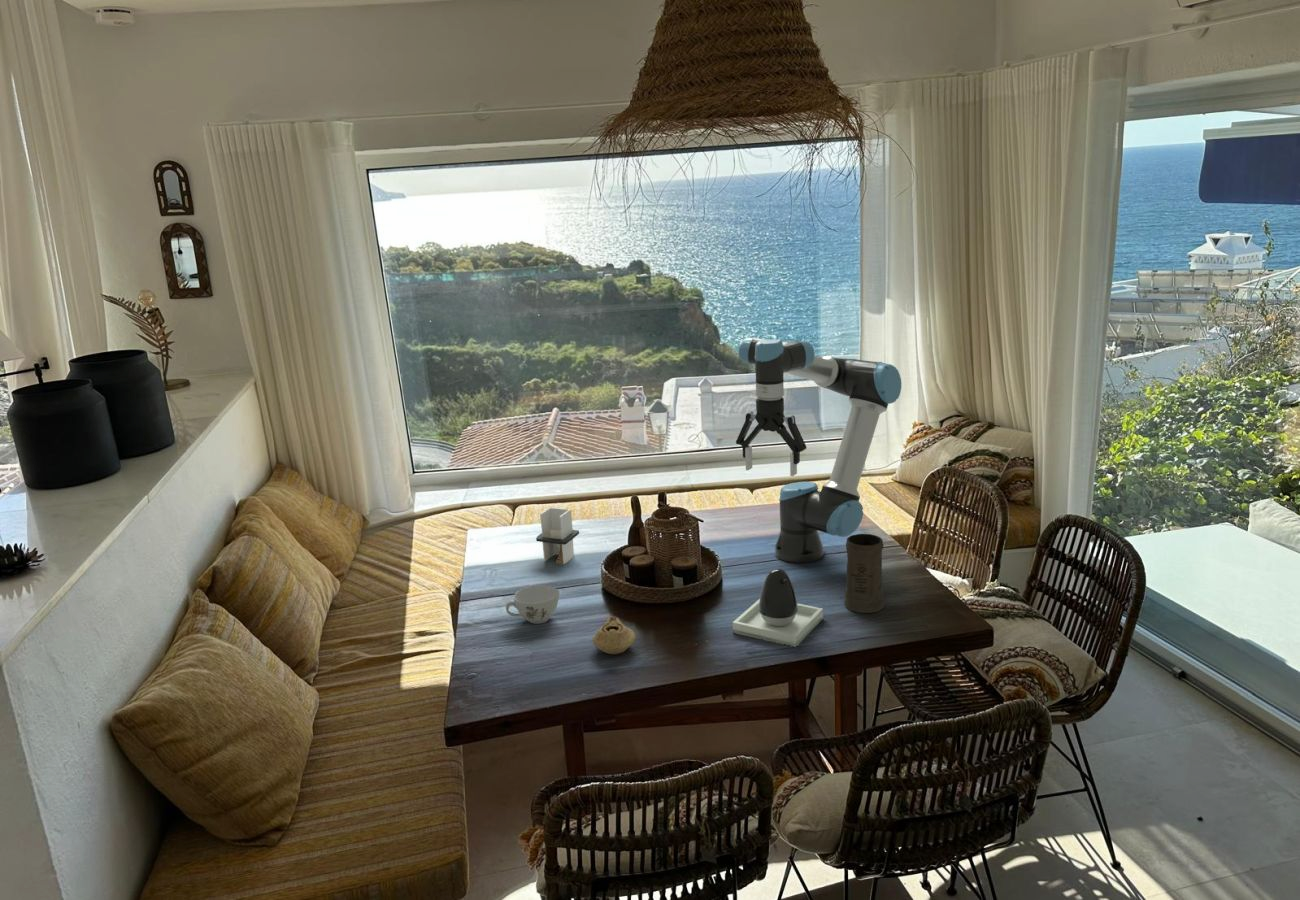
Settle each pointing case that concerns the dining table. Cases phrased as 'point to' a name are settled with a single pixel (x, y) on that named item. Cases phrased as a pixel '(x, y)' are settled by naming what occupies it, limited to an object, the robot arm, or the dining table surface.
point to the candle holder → (557, 534)
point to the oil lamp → (614, 637)
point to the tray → (788, 634)
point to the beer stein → (864, 573)
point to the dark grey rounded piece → (778, 599)
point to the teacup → (535, 603)
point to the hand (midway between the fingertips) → (771, 471)
